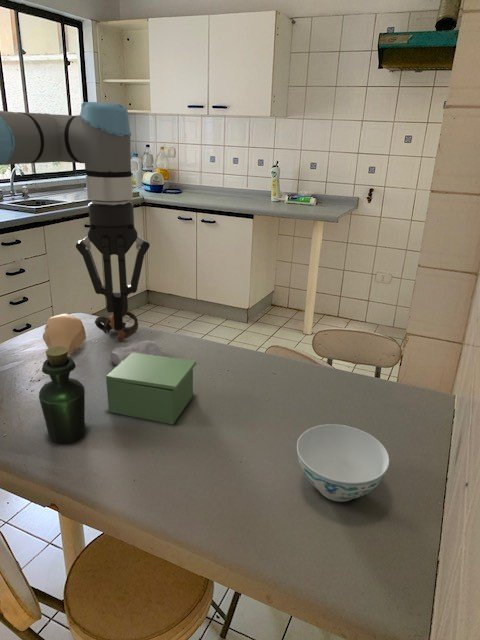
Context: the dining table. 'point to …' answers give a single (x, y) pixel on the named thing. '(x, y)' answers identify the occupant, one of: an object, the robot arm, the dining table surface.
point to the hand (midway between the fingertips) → (118, 327)
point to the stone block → (135, 351)
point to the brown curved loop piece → (109, 325)
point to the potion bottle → (62, 398)
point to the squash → (64, 332)
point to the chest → (149, 400)
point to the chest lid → (152, 370)
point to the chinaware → (341, 461)
